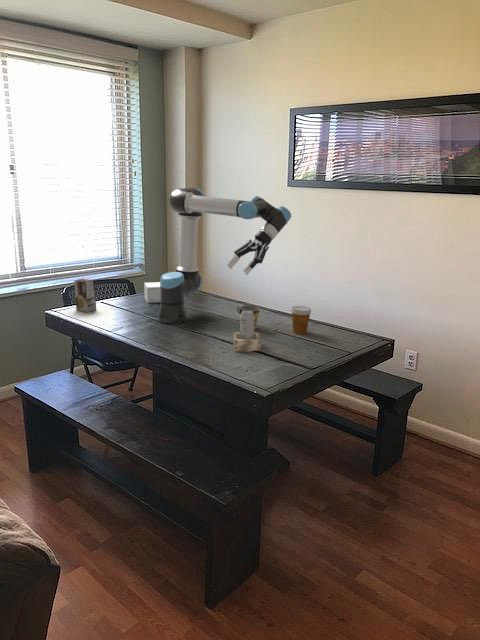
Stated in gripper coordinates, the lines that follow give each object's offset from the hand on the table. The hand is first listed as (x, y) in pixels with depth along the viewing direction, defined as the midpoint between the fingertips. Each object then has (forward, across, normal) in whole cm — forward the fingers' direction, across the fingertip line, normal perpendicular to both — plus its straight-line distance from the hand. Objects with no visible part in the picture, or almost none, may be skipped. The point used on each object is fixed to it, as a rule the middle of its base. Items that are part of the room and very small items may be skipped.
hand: (236, 269), depth 239 cm
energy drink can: (+24, -18, -17) cm, 35 cm away
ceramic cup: (+14, +6, -30) cm, 34 cm away
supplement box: (+25, +76, -21) cm, 83 cm away
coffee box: (+57, +73, +10) cm, 93 cm away
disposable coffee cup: (+1, -13, -42) cm, 44 cm away
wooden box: (+25, -19, -18) cm, 36 cm away
